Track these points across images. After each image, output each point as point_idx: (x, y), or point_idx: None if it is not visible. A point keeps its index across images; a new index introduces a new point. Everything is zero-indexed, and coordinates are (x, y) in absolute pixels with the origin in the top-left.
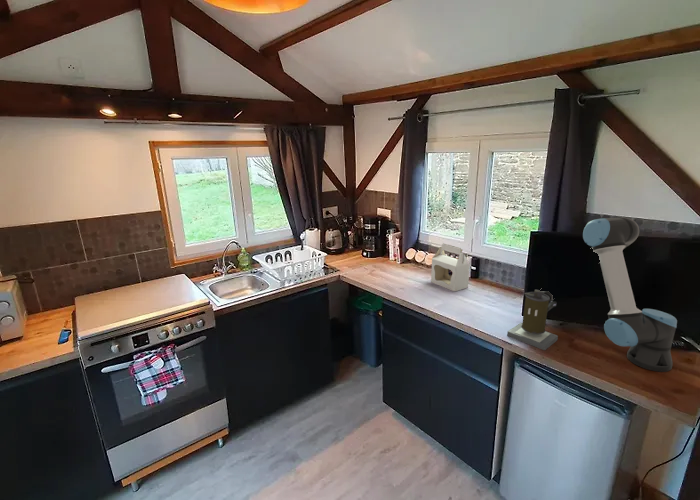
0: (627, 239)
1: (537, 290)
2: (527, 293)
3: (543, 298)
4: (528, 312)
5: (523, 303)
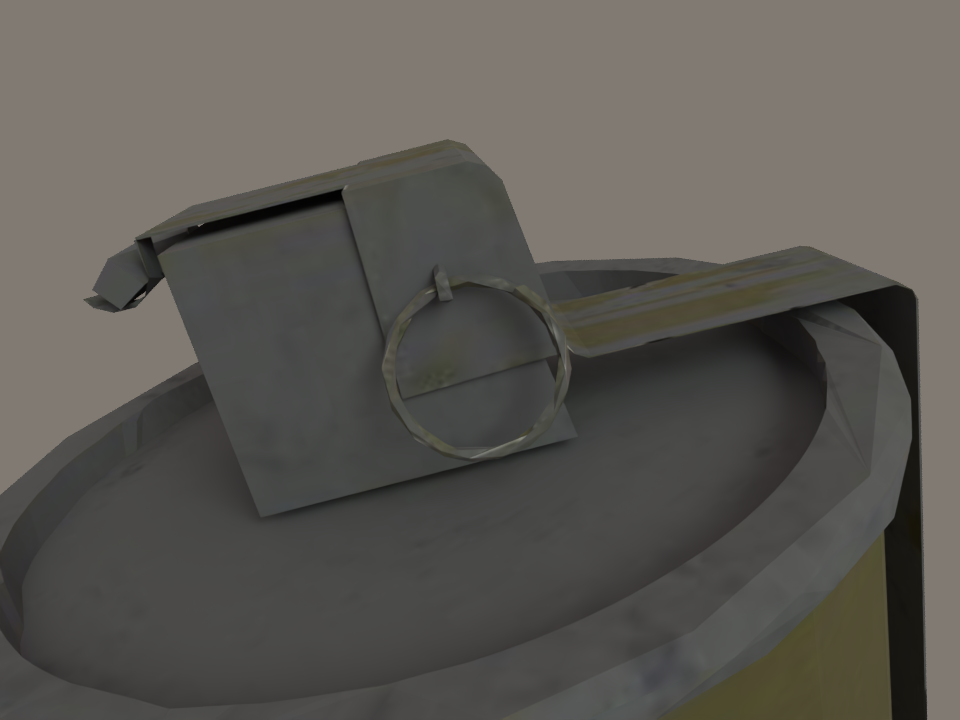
0: None
1: (374, 170)
2: (774, 288)
3: (218, 471)
4: None
5: (914, 670)
